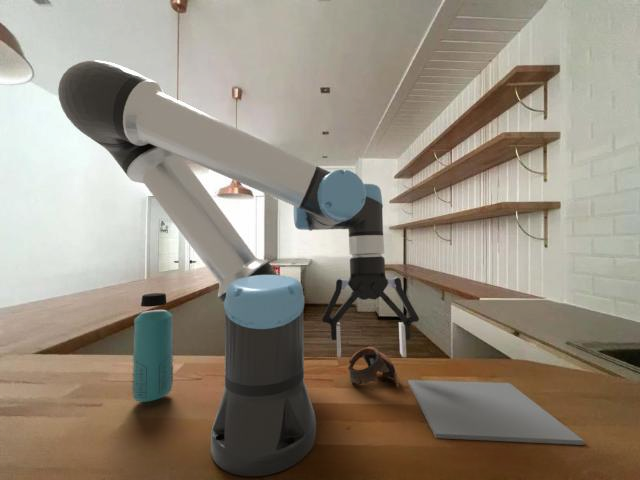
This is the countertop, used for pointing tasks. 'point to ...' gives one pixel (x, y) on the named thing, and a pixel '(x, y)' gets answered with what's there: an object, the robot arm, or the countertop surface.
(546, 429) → the gray mat
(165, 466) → the countertop surface
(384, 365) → the broken terracotta jug
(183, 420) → the countertop surface
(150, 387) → the beverage bottle
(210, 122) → the robot arm
